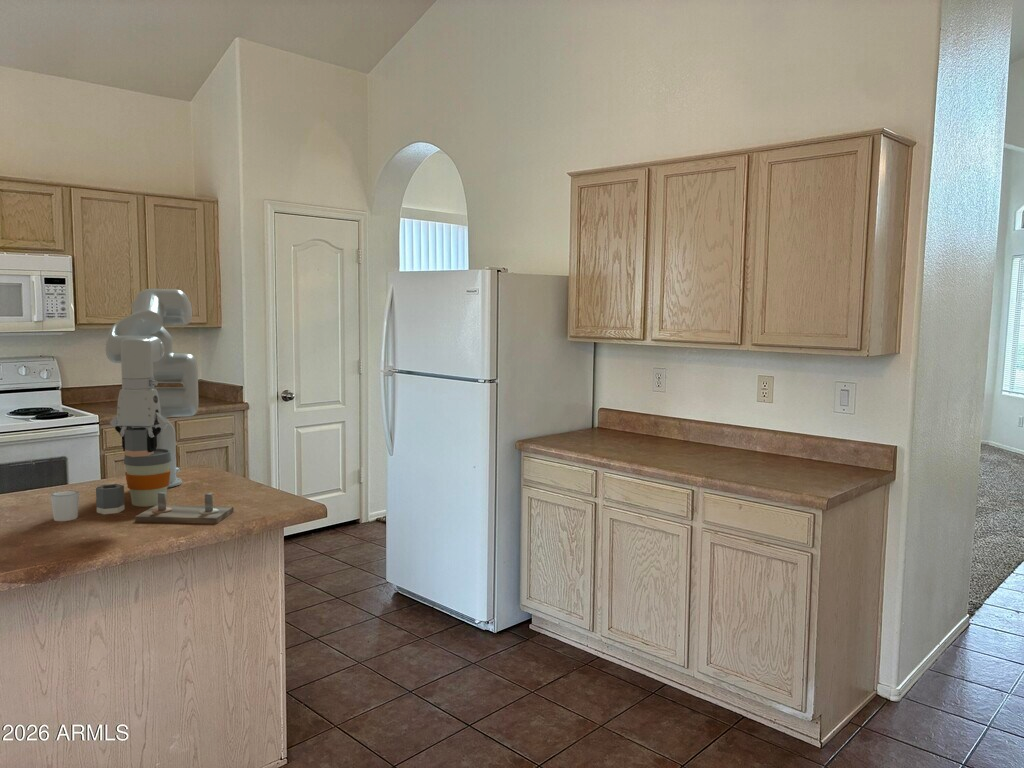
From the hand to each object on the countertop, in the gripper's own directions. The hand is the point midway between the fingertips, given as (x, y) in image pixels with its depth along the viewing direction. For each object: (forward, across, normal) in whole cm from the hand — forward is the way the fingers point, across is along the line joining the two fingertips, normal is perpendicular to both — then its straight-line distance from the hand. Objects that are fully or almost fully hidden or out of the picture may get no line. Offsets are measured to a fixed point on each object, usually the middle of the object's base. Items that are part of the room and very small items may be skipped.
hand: (139, 450), depth 206 cm
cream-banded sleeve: (+19, +13, -7) cm, 24 cm away
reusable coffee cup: (+20, +7, -17) cm, 27 cm away
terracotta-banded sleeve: (+1, 0, 0) cm, 1 cm away
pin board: (+19, -10, -4) cm, 22 cm away
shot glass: (+19, +21, +1) cm, 28 cm away
